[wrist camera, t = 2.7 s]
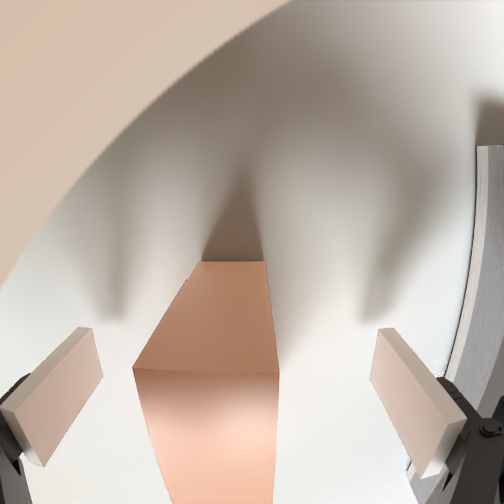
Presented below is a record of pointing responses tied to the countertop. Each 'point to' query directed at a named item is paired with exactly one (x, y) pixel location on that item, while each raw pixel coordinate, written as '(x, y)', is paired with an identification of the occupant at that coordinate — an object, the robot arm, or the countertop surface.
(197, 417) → the tall peach block
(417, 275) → the countertop surface
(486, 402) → the rail
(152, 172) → the countertop surface
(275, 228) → the countertop surface
